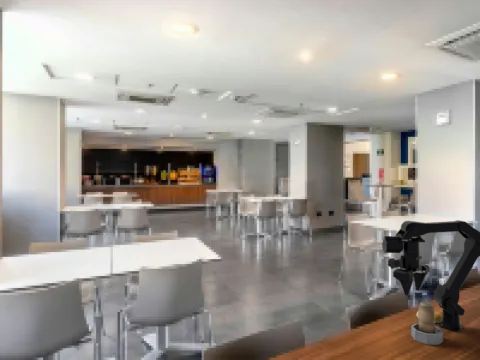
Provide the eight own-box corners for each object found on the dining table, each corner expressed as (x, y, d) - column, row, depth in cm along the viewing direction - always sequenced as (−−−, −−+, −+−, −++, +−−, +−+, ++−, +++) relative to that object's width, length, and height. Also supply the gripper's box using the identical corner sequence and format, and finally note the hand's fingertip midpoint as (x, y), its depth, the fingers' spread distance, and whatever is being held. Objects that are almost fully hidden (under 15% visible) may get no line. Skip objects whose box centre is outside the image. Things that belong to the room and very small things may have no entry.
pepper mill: (424, 332, 123) (423, 300, 123) (437, 337, 118) (436, 304, 118) (416, 335, 120) (415, 302, 120) (430, 341, 116) (429, 306, 116)
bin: (419, 330, 126) (419, 321, 126) (446, 339, 118) (446, 329, 118) (407, 337, 120) (407, 328, 120) (435, 347, 112) (435, 337, 113)
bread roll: (438, 326, 130) (438, 316, 130) (414, 319, 136) (414, 309, 136) (445, 320, 135) (445, 310, 135) (422, 314, 142) (422, 304, 142)
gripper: (402, 247, 142) (403, 283, 142) (379, 253, 131) (380, 292, 130) (429, 251, 133) (430, 289, 133) (408, 258, 122) (409, 300, 122)
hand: (412, 292), depth 130 cm, fingers open, 9 cm apart
